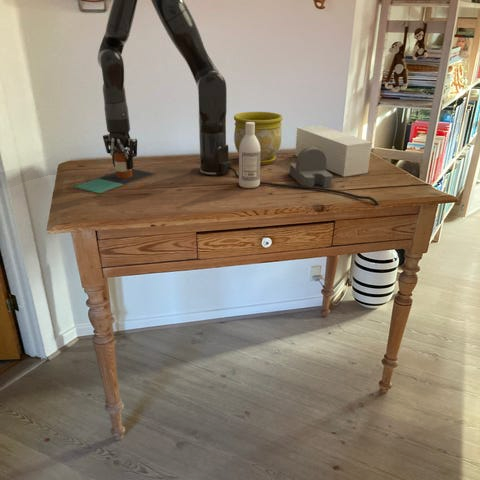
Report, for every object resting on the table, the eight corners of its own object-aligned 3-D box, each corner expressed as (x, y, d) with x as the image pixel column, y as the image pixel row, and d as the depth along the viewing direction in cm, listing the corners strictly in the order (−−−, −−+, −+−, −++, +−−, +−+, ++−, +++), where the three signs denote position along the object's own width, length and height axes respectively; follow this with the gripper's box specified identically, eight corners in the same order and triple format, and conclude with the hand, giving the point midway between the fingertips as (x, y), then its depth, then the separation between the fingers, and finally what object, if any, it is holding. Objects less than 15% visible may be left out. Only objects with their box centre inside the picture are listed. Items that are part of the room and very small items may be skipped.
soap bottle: (135, 175, 182) (132, 146, 177) (124, 179, 178) (121, 149, 173) (124, 173, 185) (120, 144, 179) (113, 177, 181) (109, 147, 176)
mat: (153, 174, 185) (153, 173, 185) (99, 193, 166) (99, 192, 166) (128, 169, 190) (128, 168, 190) (73, 187, 172) (73, 186, 172)
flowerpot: (272, 169, 191) (274, 122, 182) (227, 164, 196) (226, 118, 188) (286, 157, 205) (288, 113, 197) (243, 153, 211) (243, 110, 202)
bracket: (305, 188, 172) (307, 155, 166) (288, 173, 187) (290, 142, 181) (332, 186, 174) (335, 153, 168) (314, 171, 188) (316, 141, 183)
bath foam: (263, 187, 173) (265, 123, 163) (244, 189, 170) (245, 125, 160) (253, 181, 178) (254, 119, 168) (235, 183, 176) (235, 121, 165)
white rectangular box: (367, 173, 187) (371, 142, 182) (343, 176, 183) (347, 145, 178) (317, 152, 212) (319, 125, 206) (295, 155, 208) (296, 127, 202)
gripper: (141, 116, 170) (146, 168, 179) (109, 112, 177) (116, 162, 186) (125, 120, 165) (131, 173, 174) (93, 115, 172) (100, 167, 181)
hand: (123, 167), depth 180 cm, fingers closed on soap bottle, 5 cm apart
